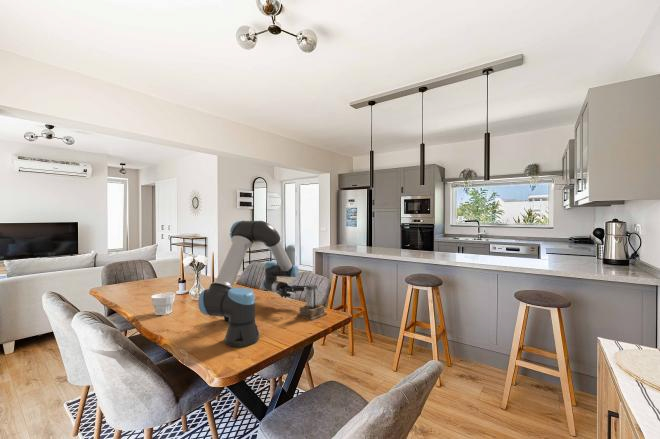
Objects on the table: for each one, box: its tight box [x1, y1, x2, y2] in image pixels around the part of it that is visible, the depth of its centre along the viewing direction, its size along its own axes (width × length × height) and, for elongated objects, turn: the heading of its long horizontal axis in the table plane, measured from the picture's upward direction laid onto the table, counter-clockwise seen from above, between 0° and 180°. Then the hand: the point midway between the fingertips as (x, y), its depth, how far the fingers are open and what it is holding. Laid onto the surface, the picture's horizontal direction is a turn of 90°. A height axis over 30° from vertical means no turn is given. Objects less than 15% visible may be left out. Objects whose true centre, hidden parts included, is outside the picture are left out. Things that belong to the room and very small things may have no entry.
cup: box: [150, 291, 176, 315], centre depth 174 cm, size 12×12×11 cm
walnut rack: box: [296, 303, 328, 321], centre depth 167 cm, size 12×12×5 cm
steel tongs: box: [305, 283, 318, 309], centre depth 168 cm, size 4×6×16 cm
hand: (303, 293), depth 172 cm, fingers open, 13 cm apart
